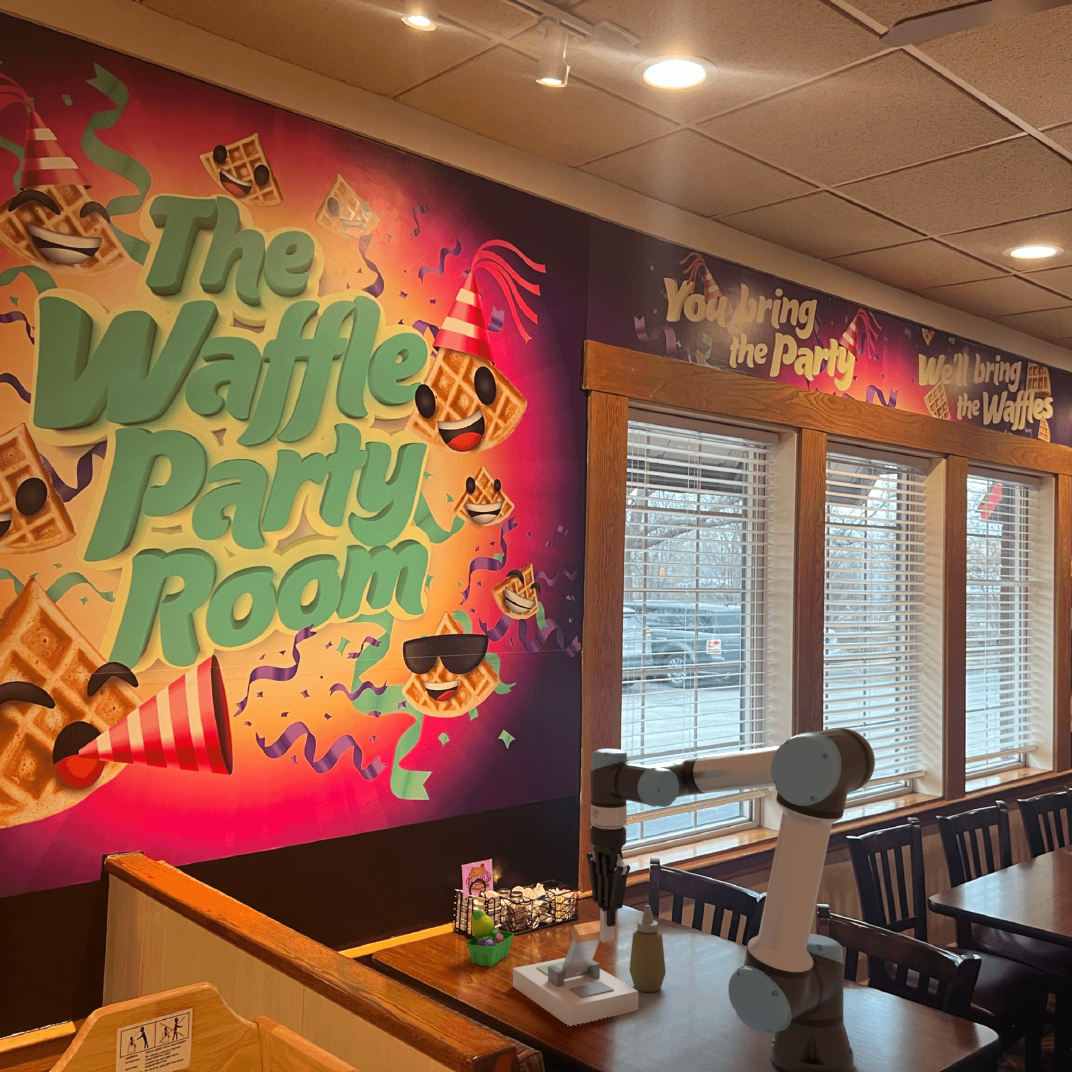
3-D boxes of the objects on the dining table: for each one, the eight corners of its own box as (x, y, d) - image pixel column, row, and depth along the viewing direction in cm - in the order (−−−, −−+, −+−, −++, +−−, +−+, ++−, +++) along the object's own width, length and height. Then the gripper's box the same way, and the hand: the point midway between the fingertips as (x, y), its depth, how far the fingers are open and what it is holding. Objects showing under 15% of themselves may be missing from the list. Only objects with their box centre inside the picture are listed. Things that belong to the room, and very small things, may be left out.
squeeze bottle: (664, 996, 222) (664, 912, 223) (627, 993, 224) (627, 910, 225) (667, 982, 230) (667, 901, 231) (631, 979, 232) (631, 899, 233)
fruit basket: (493, 969, 237) (493, 920, 238) (460, 963, 241) (460, 915, 242) (515, 954, 247) (515, 907, 248) (483, 948, 251) (483, 902, 252)
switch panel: (638, 1010, 215) (638, 976, 215) (569, 1026, 206) (569, 991, 207) (577, 972, 236) (577, 942, 236) (512, 986, 227) (513, 954, 228)
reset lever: (589, 977, 222) (608, 929, 217) (561, 983, 219) (579, 935, 213) (583, 967, 225) (601, 919, 219) (555, 973, 221) (573, 925, 215)
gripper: (576, 820, 216) (574, 933, 214) (610, 833, 204) (609, 953, 203) (605, 816, 219) (604, 928, 218) (641, 829, 208) (640, 947, 207)
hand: (607, 940), depth 211 cm, fingers closed
